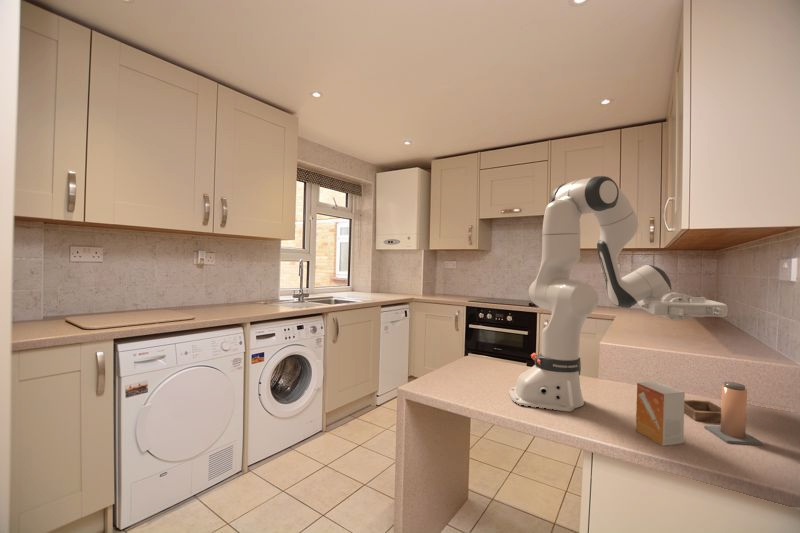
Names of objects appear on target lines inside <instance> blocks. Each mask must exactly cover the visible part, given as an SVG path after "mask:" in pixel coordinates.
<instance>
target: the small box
mask: <svg viewBox="0 0 800 533" xmlns="http://www.w3.org/2000/svg"><path fill="white" fill-rule="evenodd" d="M636 385H637V386H636V410H635V411H636V414H635V415H636V416H635V431H637V432H638V433H640V434H642V435H643V436H645V437H647V438H648V439H650V440H652V441H654V442H655V443H657V444H659V445H660V446H662V447H666V446H673V445H681V444H684V431H685V430H684V429H685V413H684V400H685V395H686V394H685V393H686V392H685V391H683V390H679V389H677V388H675V387H674V386H673V387H672V386H670V385H667V384H664V383H661V382H659V381H657V380H656V381H642V382H641V381H640V382H637V384H636Z"/></svg>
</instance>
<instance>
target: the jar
mask: <svg viewBox="0 0 800 533" xmlns="http://www.w3.org/2000/svg"><path fill="white" fill-rule="evenodd" d="M720 399H721V402H720V408H721V422H720V431H721V432H722V433H723V434H725V435H727V436H730V437H734V438H745V437H746V433H747V432H746V431H747V406H748V402H747V401H748V389H747V388H746V386H745V384H742V383H738V382H733V381H724V382H723V384H722V385H721V398H720Z"/></svg>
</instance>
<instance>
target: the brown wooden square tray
mask: <svg viewBox="0 0 800 533" xmlns="http://www.w3.org/2000/svg"><path fill="white" fill-rule="evenodd" d="M684 415H686V416H688V417H690V419H692V420H694V421H695V422H713V423H715V422H717V423H721V406H718V405H717V404H714V403H713V402H711V401H710V400H698V399H697V400H695V399H684Z"/></svg>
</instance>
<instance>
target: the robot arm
mask: <svg viewBox="0 0 800 533" xmlns="http://www.w3.org/2000/svg"><path fill="white" fill-rule="evenodd" d="M586 214H593V215H594V216H593V217H594V218H595V219H594V220H595V221H596V223H597V225H598V228H599V240H598V242H597V243H596V250H597V254H598V259H599V263H600V266H601V270H602V274H603V278H604V280H605V285H606V293H607V296H608V298H609V300H610V301H611V303H612V304H613V305H614V306H616V307H617V308H624V309H630V308H632V307H633V306H635V305H636V304H638V306H639V307H640V308H641V309H642V310H644V311H646V312H647V313H648V314H651V315H655V316H660V317H662V318H665V319H669V320H671V321H681V320H686V319H694V318H705V317H720V318H721V317H722V318H724V317H727V315H728V312H729V311H728V309H729V308H728V305H727V304H726V303H723V302H719V301H715V300H711V299H707V298H706V297H705V296H700V295H698V296H697V295H688V294H685V293H679V292H674V291H672V282H671V280H670V277H669V276H668V274H667V273H666V271H664V270H663V269H662V268H660V267H658V266H656V265H652V264H644V265H642V266H640V267H639V268H636V269H635V270H633V271H632V272H630V273H628V274H626V275H624V276H621V272H620V268H619V265H618V257H619V255H620V253H621V251H622V250H623V249H624V248H625V247H626V245H627V244H628V243H629V242H630V241H631V240H633V238H634V237H635V235H636V233H637V232H638V229H639V219H638V217H637V213H636V212H635V210H634V208H633V206H632V204H631V202H630V201H629V198H627V196H626V195H625V192H624V191H623V190H622V189H621V188H620V187H619V186H618V185H617V183H616V182H615V180H613V179H612V178H611V177H609V176H604V175H598V176H592V177H589V178H583V179H580V178H579V179H576V180H573V181H570V182H568V183H563V184H561V185H559V186H557V187H556V188H554V190H553V192H551V196H550V201H549V203H548V204H547V205H546V207H545V211H544V215H543V220H542V229H541V230H542V234H541V235H542V236H541V238H542V240H541V246H542V247H541V249H542V250H541V260H540V266H539V269H538V272H537V275H536V278H535V279H534V280H533V282H531V284H530V285H529V287H528V296H529V299H530V301H531V303H532V304H534V305H535V306H537V307H538V308H541V309H543V310H545V311H550V312H551V315H550V318H549V319H550V320H549V322H548V324H547V325H546V326H544V327H543V329H542V330H541V352H540V354H537V353H536V352H533V353H532V354H530V357H531V359H532V360H533V361H534V364H533V366H531V367H530V368H528V369H526V370H525V371H524V372H522V373H520V374H519V375H518V377H517V380H516V385H515V386H513V387H510V388H509V393H508V395H509V394H510V395H509V397H511V398H510V400H511V401H512V400H513V401H514V403H515V402H516V403H517V405H518V404H519V405H518V406H521V405H524V406H523V407H528V406H531V407H530V408H536V407H539V408H538V409H544V408H546V409H545V410H552V409H553V411H554V410H555V411H562V412H573V411H574V410H575V409H578V408H581V407H582V406H584V405H585V401H584V397H583V394H582V389H581V381H580V380H581V379H580V375H581V371H582V363H581V357H580V338H581V337H580V336H581V331H582V328H583V325H584V322H586V319H587V317H588V316H590V315H591V314H592V313H593V312H595V310H596V309H597V306H598V304H599V303H598V302H599V293H598V292H597V290H596V288H595V287H593V285H592V284H588V283H586V282H584V281H581V280H578V279H570V275H571V271H572V270H573V268H574V266H575V265H576V264H577V263H578V262H579V261H580V259H581V222H580V221H581V220H580V219H581V217H582V215H586ZM513 401H512V402H513ZM516 403H515V404H516Z"/></svg>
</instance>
